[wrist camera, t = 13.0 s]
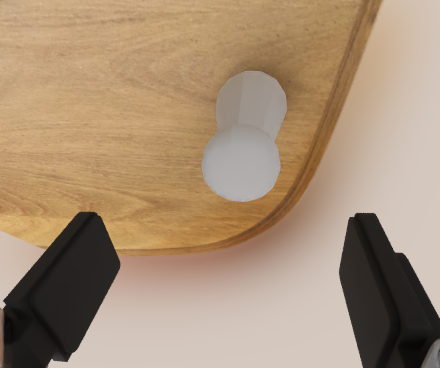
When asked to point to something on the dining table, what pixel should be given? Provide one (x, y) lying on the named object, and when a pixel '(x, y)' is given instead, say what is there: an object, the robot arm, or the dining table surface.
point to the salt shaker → (245, 137)
